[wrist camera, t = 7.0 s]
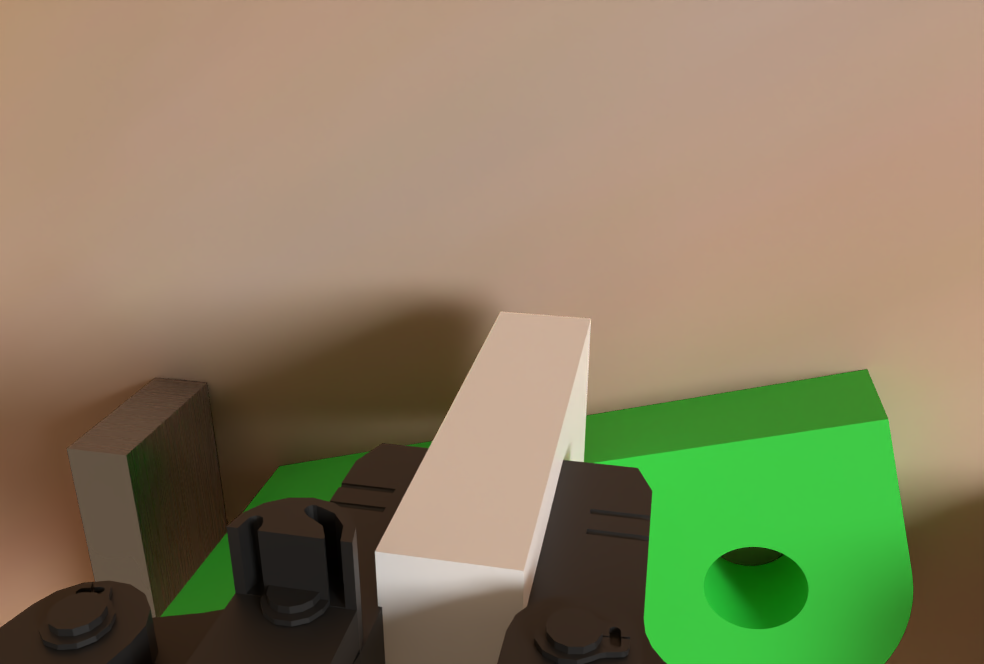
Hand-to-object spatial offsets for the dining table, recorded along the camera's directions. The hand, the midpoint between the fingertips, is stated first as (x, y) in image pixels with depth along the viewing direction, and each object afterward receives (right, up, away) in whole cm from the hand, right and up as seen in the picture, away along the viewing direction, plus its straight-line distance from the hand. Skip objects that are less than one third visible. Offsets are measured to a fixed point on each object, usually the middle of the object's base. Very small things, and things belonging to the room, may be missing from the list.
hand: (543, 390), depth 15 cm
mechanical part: (+1, -3, +4) cm, 5 cm away
